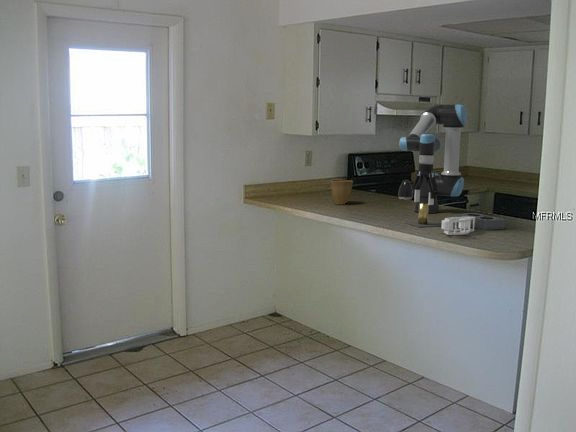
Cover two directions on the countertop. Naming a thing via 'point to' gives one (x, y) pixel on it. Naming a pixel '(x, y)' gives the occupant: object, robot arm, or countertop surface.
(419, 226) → the mat
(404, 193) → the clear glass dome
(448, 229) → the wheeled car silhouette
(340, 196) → the plant pot
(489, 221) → the block
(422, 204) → the bushing
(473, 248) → the countertop surface
